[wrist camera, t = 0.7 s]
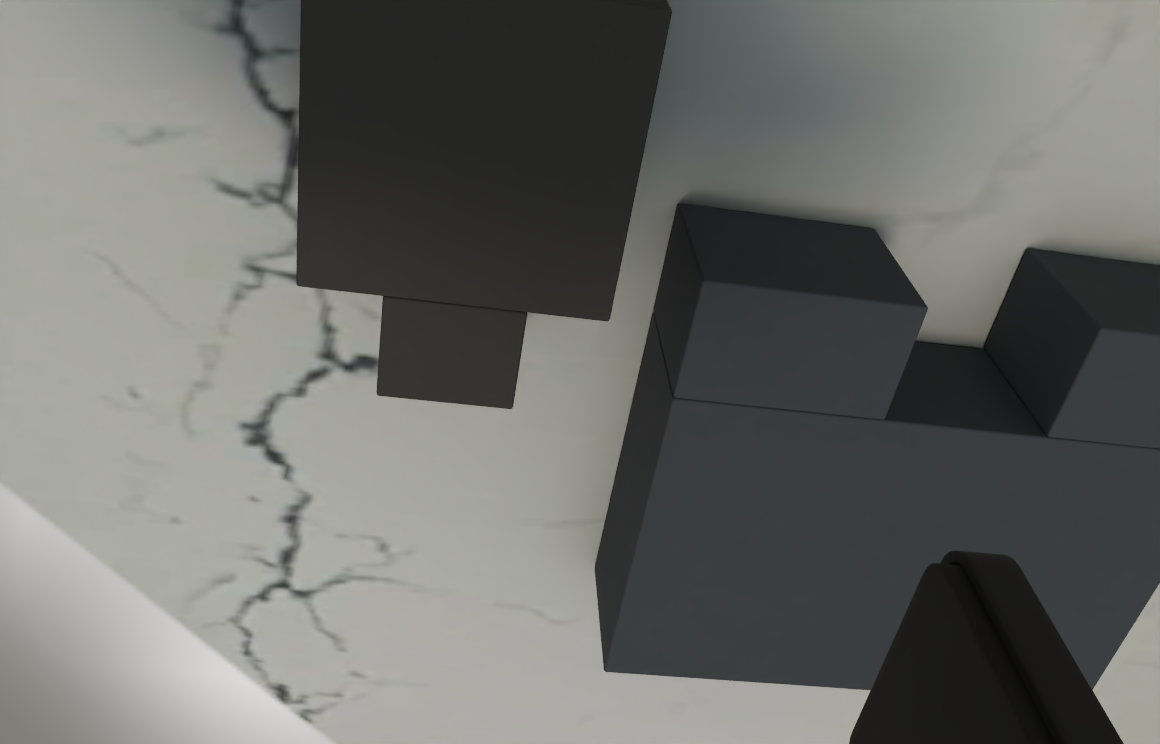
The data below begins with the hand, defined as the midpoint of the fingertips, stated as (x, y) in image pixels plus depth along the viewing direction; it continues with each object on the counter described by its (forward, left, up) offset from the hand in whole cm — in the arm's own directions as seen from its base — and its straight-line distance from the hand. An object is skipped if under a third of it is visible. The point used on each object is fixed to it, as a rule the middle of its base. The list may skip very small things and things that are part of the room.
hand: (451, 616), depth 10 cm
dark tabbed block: (+1, 0, -16) cm, 16 cm away
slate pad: (+8, +12, -16) cm, 21 cm away
